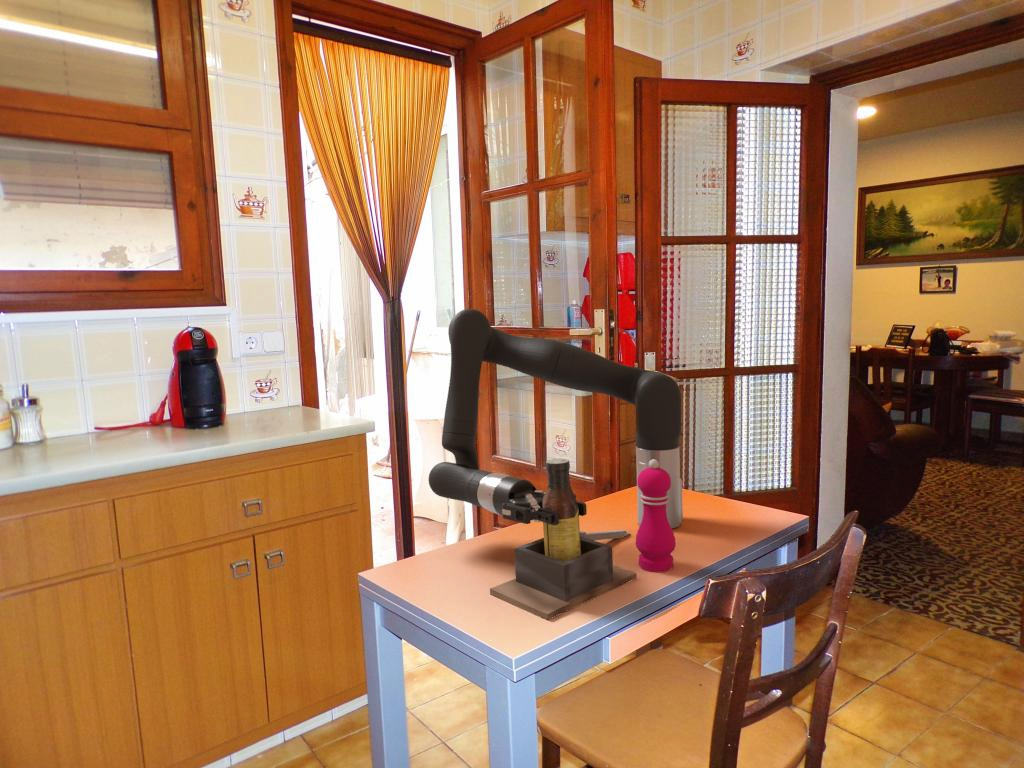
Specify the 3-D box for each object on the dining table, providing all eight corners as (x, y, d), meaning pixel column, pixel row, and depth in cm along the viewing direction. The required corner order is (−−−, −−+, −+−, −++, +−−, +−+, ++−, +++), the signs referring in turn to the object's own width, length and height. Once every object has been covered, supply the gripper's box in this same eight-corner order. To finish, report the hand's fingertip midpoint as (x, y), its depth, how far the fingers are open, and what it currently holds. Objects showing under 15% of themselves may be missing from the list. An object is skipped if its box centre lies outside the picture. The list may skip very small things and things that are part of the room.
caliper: (560, 561, 129) (559, 530, 128) (556, 560, 130) (555, 528, 129) (630, 535, 142) (630, 506, 141) (626, 534, 143) (626, 505, 142)
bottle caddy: (578, 558, 129) (577, 523, 129) (636, 578, 119) (635, 539, 118) (490, 594, 115) (488, 554, 114) (547, 620, 104) (545, 576, 104)
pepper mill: (628, 562, 126) (625, 458, 124) (660, 555, 129) (658, 453, 127) (651, 576, 119) (648, 465, 117) (684, 568, 122) (682, 460, 120)
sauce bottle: (589, 574, 116) (586, 461, 113) (560, 583, 112) (557, 467, 110) (564, 562, 121) (561, 454, 119) (537, 571, 118) (533, 460, 115)
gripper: (475, 483, 121) (540, 502, 108) (533, 468, 130) (599, 484, 118) (477, 524, 122) (541, 547, 109) (535, 506, 131) (600, 525, 119)
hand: (571, 514), depth 114 cm, fingers closed on sauce bottle, 6 cm apart
